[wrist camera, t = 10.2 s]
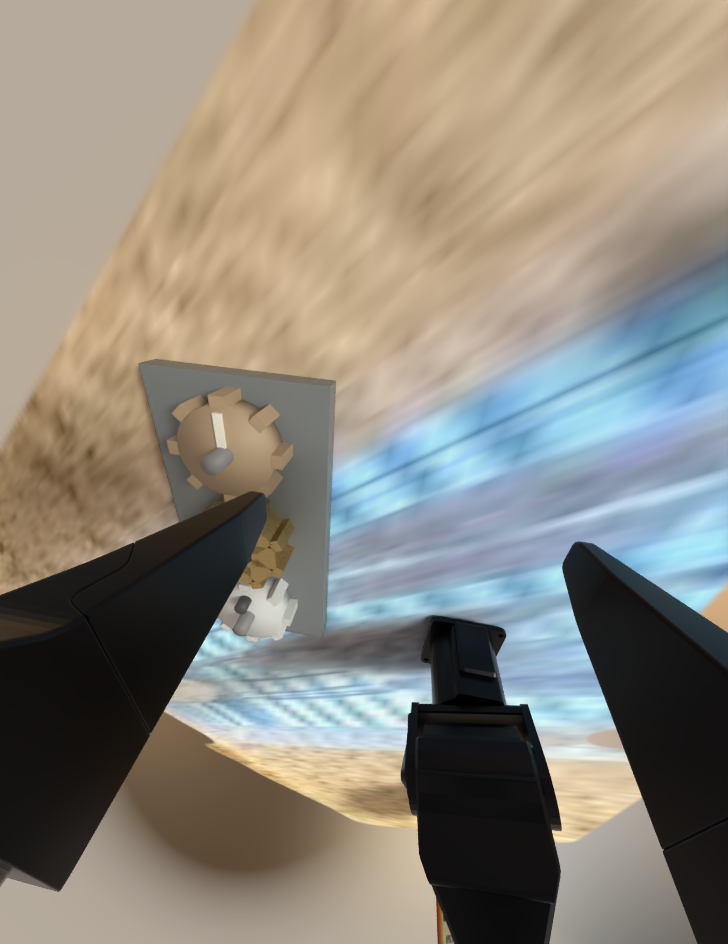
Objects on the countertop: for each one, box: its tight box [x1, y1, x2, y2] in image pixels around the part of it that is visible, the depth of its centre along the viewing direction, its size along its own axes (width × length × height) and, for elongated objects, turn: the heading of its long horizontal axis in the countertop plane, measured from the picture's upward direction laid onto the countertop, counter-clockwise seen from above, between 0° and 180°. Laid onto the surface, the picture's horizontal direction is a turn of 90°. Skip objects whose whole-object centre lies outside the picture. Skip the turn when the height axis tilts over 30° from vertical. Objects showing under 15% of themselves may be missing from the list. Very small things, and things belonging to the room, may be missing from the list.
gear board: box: [139, 359, 336, 642], centre depth 24 cm, size 24×12×6 cm, turn 175°
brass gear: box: [203, 494, 295, 589], centre depth 24 cm, size 7×7×2 cm
